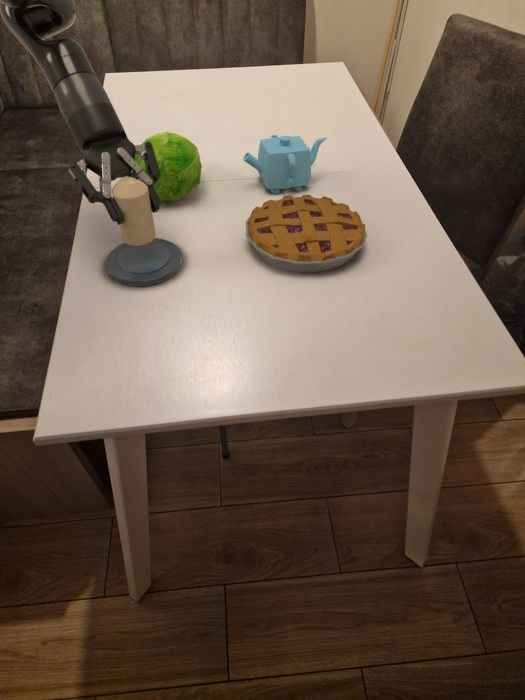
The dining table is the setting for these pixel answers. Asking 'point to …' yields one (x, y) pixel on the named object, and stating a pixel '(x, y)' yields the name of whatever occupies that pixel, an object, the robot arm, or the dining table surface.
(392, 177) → the dining table surface
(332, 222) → the pie
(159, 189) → the lettuce
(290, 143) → the teapot
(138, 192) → the candle
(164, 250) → the saucer
